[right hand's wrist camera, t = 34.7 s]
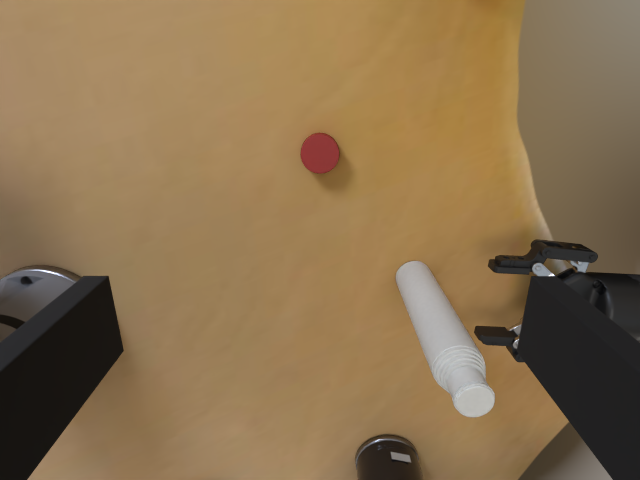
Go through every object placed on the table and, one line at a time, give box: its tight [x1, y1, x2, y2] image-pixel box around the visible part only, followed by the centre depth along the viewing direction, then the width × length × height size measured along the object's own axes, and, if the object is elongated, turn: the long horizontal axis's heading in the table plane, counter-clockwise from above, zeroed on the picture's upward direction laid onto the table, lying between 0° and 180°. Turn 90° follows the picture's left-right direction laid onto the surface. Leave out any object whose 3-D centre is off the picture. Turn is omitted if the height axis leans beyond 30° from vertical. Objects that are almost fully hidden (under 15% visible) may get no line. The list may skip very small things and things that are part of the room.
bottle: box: [396, 261, 495, 417], centre depth 41 cm, size 4×4×22 cm
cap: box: [301, 133, 339, 173], centre depth 45 cm, size 4×4×2 cm
